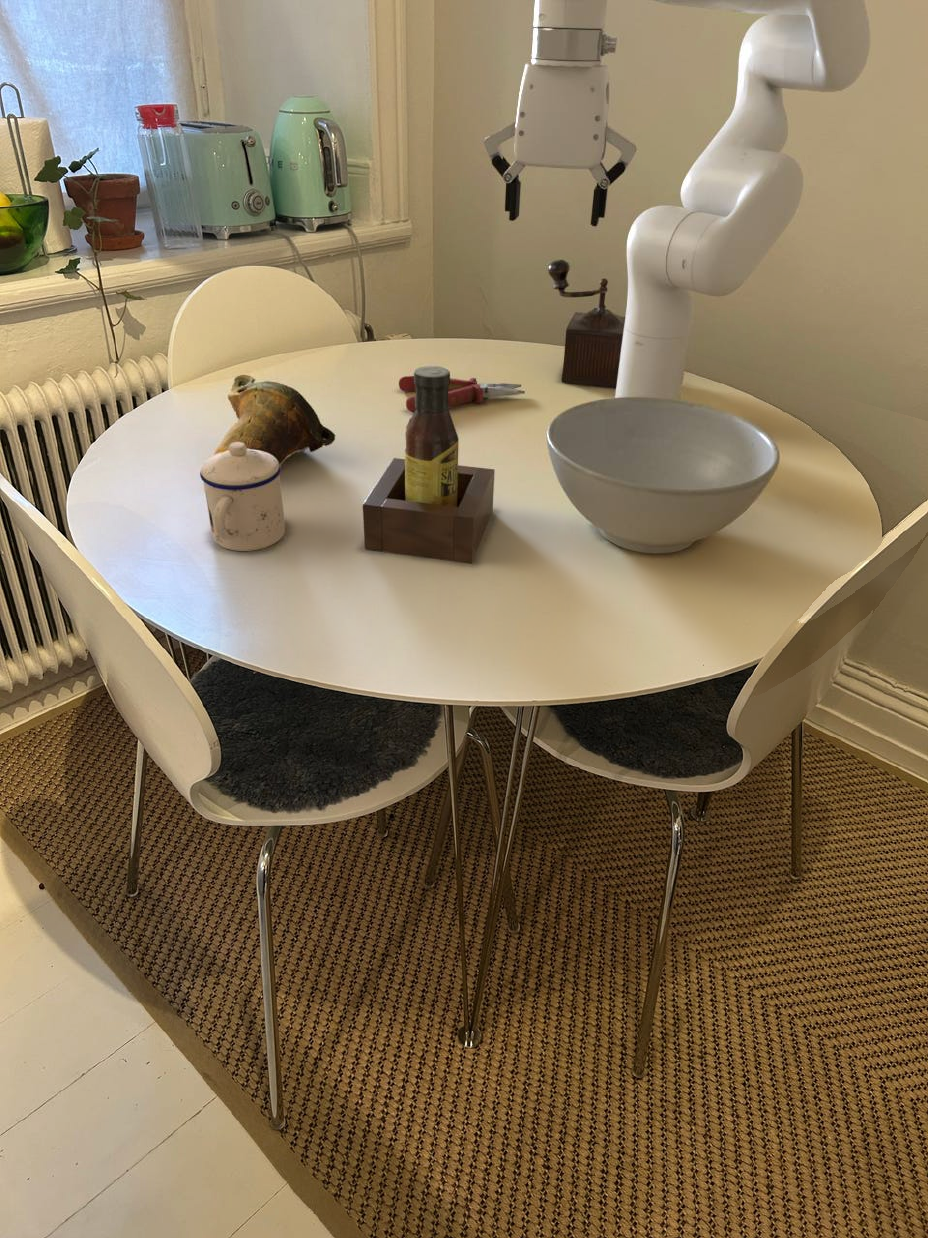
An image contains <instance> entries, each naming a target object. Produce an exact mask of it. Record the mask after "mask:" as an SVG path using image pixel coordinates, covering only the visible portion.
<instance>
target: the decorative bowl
mask: <svg viewBox="0 0 928 1238" xmlns="http://www.w3.org/2000/svg"><path fill="white" fill-rule="evenodd" d="M546 445H547V450H548V455H549V459H550V462H551V465H552V469H553V471H554V473H555V476H556V479H557V481H558V483H559V485H560V487H561V489H562V490H563V492H564V494H565V495H566V497H567V499H568V500H569V501H570V503H571V504H572V505H573V507H574V508H575V509H576V510H577V511H578V512H579V513H580V515H582V516H583V517H584V518H585V519H586V520H587V521H588V522H590V523H591V524H592V525H594V526H595V527H597V529H598V531H599V533H600V534H601V536H602V537H604V538H605V539H606V540H607V541H609V542H611V543H612V544H614V545H616V546H617V547H621V548H623V549H626V550H629V551H633V552H637V553H645V554H670V553H676V552H680V551H682V550H685V549H687V548H689V547H690V546H692V545H693V544H695V542H696V541H698V540H702V539H704V538H707V537H710V536H712V535H714V534H716V533H718V532H719V531H721V530H723V529H724V528H726V527H727V526H729V525H731V524H732V523H733V522H735V521H736V520H737V519H738V518H739V517H741V516H742V515H743V514H744V513H745V512H746V511H748V509H749V508H750V507H751V506H752V505H753V504H754V503H755V502H756V501H757V499H758V498H759V497H760V496H761V495H762V493H763V491H765V489H766V487H767V486H768V484H769V483H770V481H772V478H773V476H774V475H775V473H776V470H777V469H778V467H779V464H780V460H781V459H780V457H781V456H780V450H779V447H778V445H777V443H776V442H775V440H774V439H773V437H772V436H770V434H768V433H767V432H766V431H765V430H764V429H762V428H761V427H759V426H758V425H756V424H755V423H753V422H751V421H750V420H747V419H745V418H743V417H741V416H739V415H736V414H734V413H731V412H729V411H726V410H723V409H720V408H717V407H714V406H710V405H706V404H701V403H697V402H692V401H687V400H682V399H680V400H674V399H666V398H654V397H619V398H615V397H608V398H602V399H596V400H592V401H588V402H583V403H579V404H576V405H574V406H572V407H570V408H567V409H565V410H563V411H562V412H560V413H559V414H558V415H556V416H555V417H554V418H553V419H552V420H551V422H550V423H549V424H548V427H547V430H546Z"/></svg>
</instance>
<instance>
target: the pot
mask: <svg viewBox="0 0 928 1238" xmlns="http://www.w3.org/2000/svg"><path fill="white" fill-rule="evenodd" d="M256 381H257V379H255V378H254V377H253V376H251V375H248V374H240V375H237V376H235V377H234V379H233V384H232V386H231V389H230V392H228V393H227V394H226V395H227V399H228V401H229V403H230V405H231V408H232V409H233V412H235V415H236V418H237V419H238V420H236V422H234V424H233V425H232V426H231V427H230V429H229V430H228V431H227V432H226V434H225V435H224V437H223V438H222V439H221V441H220V443H219V445H218V446H217V448H216V449H215V451H214V453H213V455H212V456H214V455H216V454H219V453H222V452H225V451H227V450H229V446H230V444H232V443H234V442H242V443H244V444H245V445H246V447H247V449H252V450H259V451H263V452H266V453H269V454H271V455H272V456H274V457H275V458H276V459H277V461H278V462H279V464H280V466H282V465H283V463H285V461H286V460H287V459H288V458H289V457H291V456H292V455H294V454H298V453H302V452H304V451H305V450H307V449H309V452H310V453H313V452H316V451H318V450H319V449H321V448H323V447H328V446H331V445H332V444H333V443H334V442H335V441H336V434H335V433H334V432H333V431H332V430H331V429H330V428H327V427H326V426H324V425H323V424H322V423H321V421H320V418H319V416H318V414H317V413H316V411H315V410H314V408H313V406H312V405H311V404H310V403H309V402H308V401H307V400H306V398H305V397H304V396H303V395H302V394H301V393H300V392H299V391H298V390H297V389H295V388H294V387H291V386H288V385H286V384H284V383H280V382H276V381H271V380H270V381H268V380H265V381H259V382H256Z"/></svg>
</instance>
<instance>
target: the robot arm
mask: <svg viewBox="0 0 928 1238" xmlns="http://www.w3.org/2000/svg"><path fill="white" fill-rule="evenodd" d="M647 1H648V2H655V3H658V4H659V3H660V4H665V5H670V6H674V7H675V6H676V7H686V8H697V9H707V10H720V11H727V12H728V11H729V12H734V13H740V14H741V13H743V14H751V15H763V16H762V17H760V18H758V19H757V20H755V21H754V22H753V23H752V24H751V25H750V27H749V28H748V30H747V31H746V33H745V35H744V37H743V40H742V42H741V45H740V49H739V55H738V69H737V85H736V95H735V103H734V106H733V110H732V112H731V114H730V115H729V117H728V119H727V120H726V121H725V123H724V124H723V126H722V127H721V128H720V130H719V131H718V132H717V133H716V135H715V136H714V137H713V138H712V140H711V141H710V143H709V144H708V145H707V146H706V148H704V150H703V151H702V153H701V154H700V155H699V156H698V158H697V159H696V160H695V161H694V163H693V164H692V166H691V167H690V169H689V170H688V172H687V173H686V175H685V177H684V179H683V182H682V184H681V188H680V201H681V204H682V206H683V207H682V206H676V205H666V204H665V205H656V206H652V207H650V208H648V209H646V210H644V211H642V213H640V214H639V215H638V216H637V218H635V219H634V221H633V223H632V225H631V227H630V230H629V232H628V236H627V239H626V240H627V241H626V267H627V269H626V270H627V297H626V308H625V309H626V310H625V316H624V317H625V325H624V331H623V339H622V347H621V355H620V363H619V371H618V379H617V386H616V388H615V396H614V398H619V397H654V398H666V399H674V400H681V395H682V394H681V393H682V388H683V382H684V375H685V370H686V365H687V359H688V353H689V347H690V342H691V337H692V336H691V335H692V331H693V325H694V305H693V299H692V296H691V292H694V293H698V294H702V295H707V296H711V297H725V296H729V295H731V294H732V293H734V292H735V291H737V290H738V288H740V287H742V285H743V284H744V283H745V281H747V280H748V278H749V277H750V275H751V274H752V273H753V272H754V271H755V269H756V268H757V266H758V265H759V264H760V263H761V262H762V261H763V259H764V258H765V257H766V255H767V254H768V252H769V251H770V250H771V249H772V247H773V246H774V244H775V243H776V242H777V241H778V239H779V238H780V237H781V236H782V234H783V233H784V232H785V230H786V229H787V228H788V226H789V225H790V223H791V221H792V219H793V218H794V217H795V214H796V212H797V210H798V208H799V205H800V201H801V198H802V196H803V195H802V194H803V190H804V174H803V170H802V168H801V165H800V164H799V163H798V161H797V160H796V159H794V158H793V157H791V155H787V154H786V153H782V150H783V149H784V147H785V145H786V142H787V140H788V134H789V122H788V117H787V112H786V109H785V107H784V97H783V89H786V90H787V89H788V90H798V91H800V90H801V91H810V92H821V93H835V92H841V91H843V90H845V89H847V88H849V87H850V86H852V84H854V83H855V82H856V81H857V79H858V78H859V77H860V76H861V74H862V72H863V71H864V69H865V67H866V64H867V62H868V58H869V54H870V47H871V29H870V21H869V17H868V12H867V7H866V2H865V0H647ZM607 5H608V0H534V8H533V9H534V10H533V29H532V44H531V45H532V46H531V62H526V63H525V65H524V69H523V74H522V78H521V83H520V90H519V95H518V103H517V110H516V120H515V121H514V122H513V123H510V124H509V125H507V126H505V127H503V128H501V129H499V130H497V131H496V132H494V133H492V134H490V135H488V136H486V137H485V138H484V139H483V144H484V147H485V149H486V151H487V154H488V157H489V158H490V161H491V165H492V166H493V168H494V169H495V170H496V171H497V173H498V174H499V176H500V177H501V178H502V181H503V182H504V183H505V195H504V196H505V197H504V211H505V212H509V213H508V221H509V222H514V221H515V220H517V219H518V218H519V216H520V206H521V191H522V190H521V187H522V181H520V179H519V178H520V177H519V175H520V173H521V172H523V170H524V169H525V167H535V168H550V169H552V168H553V169H569V170H589V172H590V173H591V175H592V177H593V179H595V181H596V186H595V187H594V189H593V194H592V195H593V196H592V206H591V217H590V226H592V227H598V224H599V222H600V218H601V219H605V216H606V210H607V209H606V207H607V199H608V191H609V187H610V186H611V185H613V183H614V182H615V181H616V180H618V178H619V177H621V176H622V175H623V174H624V173H625V171H626V169H627V168H628V167H629V165H630V163H631V162H632V160H633V158H634V156H635V154H636V153H637V151H638V146H637V144H636V143H634V142H633V141H632V140H631V139H629V138H627V137H625V136H624V135H623V134H621V133H620V132H618V131H617V130H615V129H614V128H613V127H611V126H610V125H609V111H610V110H609V108H610V107H609V106H610V76H609V65H606V64H602V59H603V57H605V56H606V55H609V54H611V53H613V54H614V53H616V52H617V43H618V37H611V36H610V35H608V33H606V30H604V29H605V27H606V15H607ZM511 138H514V141H513V155H514V159H515V160H514V161H513V162H512V163H511V164H510V163H509V162H508V160H507V159H506V157H505V156H504V155H503V153H502V150H501V147H500V146H501V144H503V143H504V142H505V141H508V140H509V139H511ZM607 143H609V144H610V145H612V146H613V147H614V148H616V149H618V151H620V157H619V158H618V160H617V162H616V163H615V164H614V165H613V166H612V167H610V169H607V168H606V166H605V164H604V162H603V160H604V158H605V155H606V149H607ZM690 291H691V292H690Z"/></svg>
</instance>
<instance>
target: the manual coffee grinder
mask: <svg viewBox="0 0 928 1238" xmlns="http://www.w3.org/2000/svg"><path fill="white" fill-rule="evenodd" d="M570 268H571V267H570V264H569V262H568V261H566V260H564V259H563V258H562V259H555V260H553V261H551V263H549V264H548V266H547V273H548V276H550V278H551V279H552V280H553V286H552V289H553V290H558V294H559V296H561V297H563V298H586V297H593V296H597V295H599V299H598V300H599V301H598V307H594V308H592V309H591V310H589V311H587V312H582V311H581V312H579V311H575V312H574V314H573V315H572V317H571V319H570V321H569V322H568V324H567V326H566V328H565V329H566V330H565V338H564V339H565V340H564V354H563V365H562V373H561V382H562V383H564V384H570V385H580V386H587V387H597V388H606V389H607V388H608V389H609V388H610V389H616V386H617V379H618V371H619V363H620V355H621V347H622V339H623V331H624V325H625V317H626V316H621V315H619V314H616V313H615V312H613V311H611V310H610V309H607V308H606V305H605V300H606V293H607V292H608V291H609V289H608V286H607V285H608V283H609V280H608V279H607V278H605V277H604V278H601V280H600V281H599V285H600V286H599V288H598V289H594V290H593V289H592V290H587V291H586V290H585V291H565V290H566V289H567V288H568V287H569V286H570V283H569V282H568V279H567V278H568V274H569V272H570V270H571V269H570Z"/></svg>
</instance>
